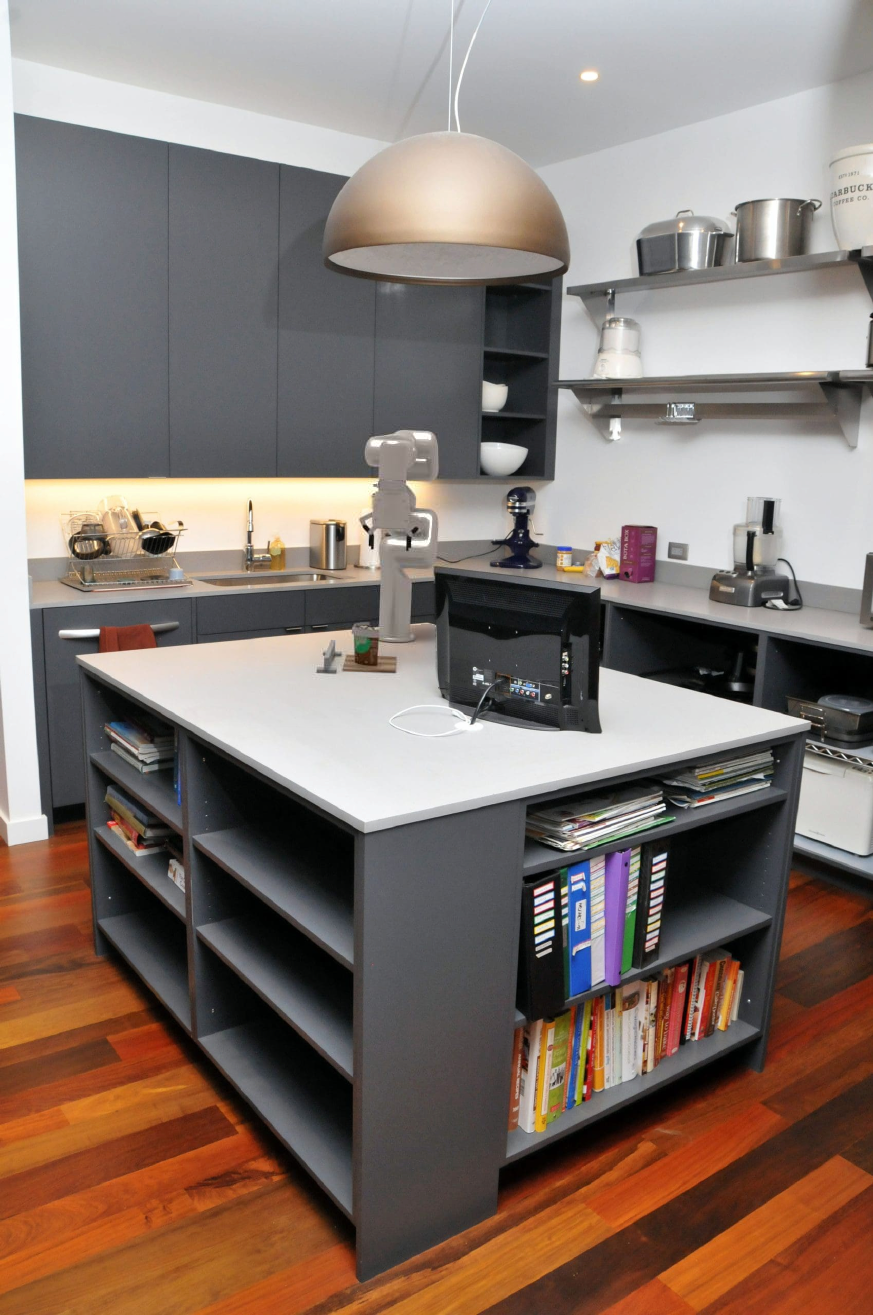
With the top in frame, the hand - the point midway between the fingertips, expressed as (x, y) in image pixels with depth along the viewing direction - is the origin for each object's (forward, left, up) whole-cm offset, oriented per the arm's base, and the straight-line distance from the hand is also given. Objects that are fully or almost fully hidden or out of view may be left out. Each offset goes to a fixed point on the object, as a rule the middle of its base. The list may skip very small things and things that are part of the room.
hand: (389, 549), depth 275 cm
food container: (+10, -6, -30) cm, 32 cm away
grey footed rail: (+10, -15, -30) cm, 35 cm away
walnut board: (+10, -4, -30) cm, 32 cm away
